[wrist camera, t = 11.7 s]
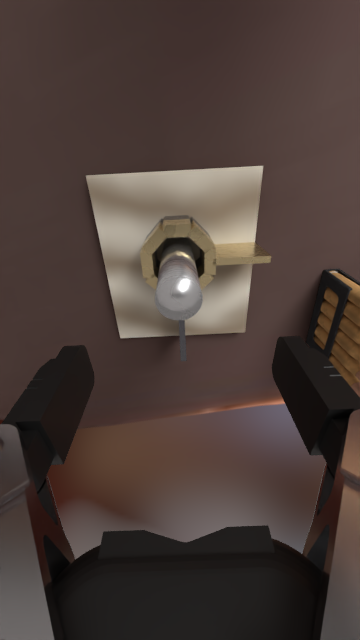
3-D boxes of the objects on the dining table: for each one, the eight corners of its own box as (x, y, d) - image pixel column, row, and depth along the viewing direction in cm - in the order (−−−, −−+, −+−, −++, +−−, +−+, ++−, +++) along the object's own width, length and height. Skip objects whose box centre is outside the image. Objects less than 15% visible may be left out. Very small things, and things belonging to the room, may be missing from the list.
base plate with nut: (90, 175, 23) (63, 175, 18) (258, 166, 23) (284, 163, 17) (122, 331, 32) (111, 364, 27) (242, 326, 32) (256, 357, 27)
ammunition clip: (323, 269, 28) (407, 323, 18) (339, 268, 28) (432, 321, 18) (305, 342, 34) (362, 415, 24) (319, 341, 34) (381, 414, 24)
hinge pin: (162, 235, 25) (152, 278, 14) (191, 233, 25) (202, 275, 14) (164, 263, 26) (157, 321, 16) (192, 262, 26) (202, 319, 16)
